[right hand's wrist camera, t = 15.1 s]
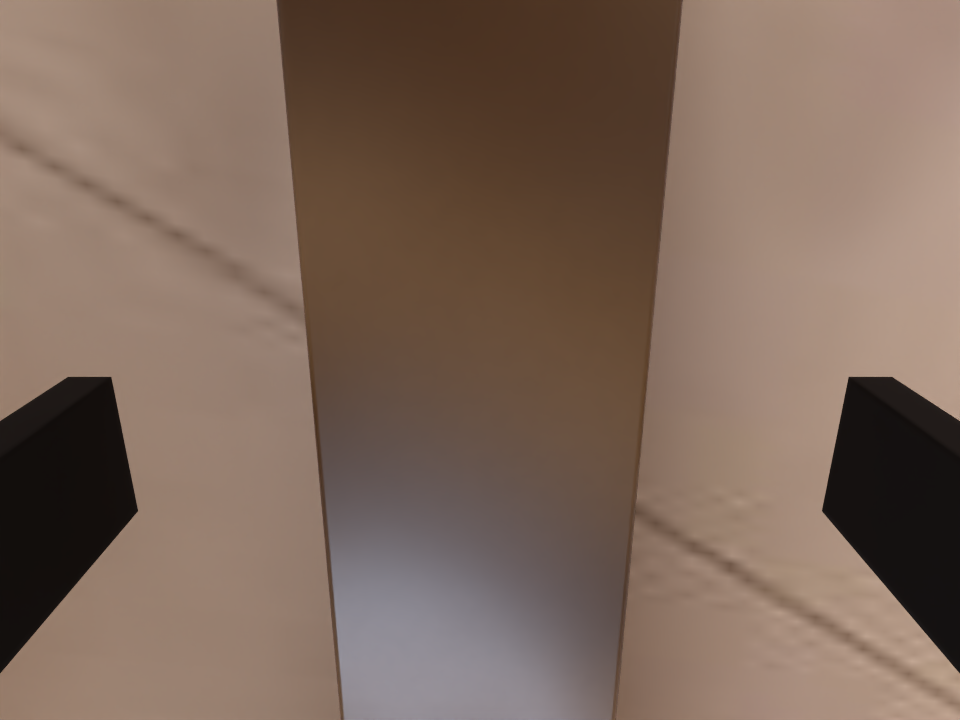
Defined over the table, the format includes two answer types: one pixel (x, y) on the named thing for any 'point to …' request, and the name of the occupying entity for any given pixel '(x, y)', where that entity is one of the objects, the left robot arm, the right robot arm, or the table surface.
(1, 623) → the right robot arm
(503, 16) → the post
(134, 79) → the table surface
